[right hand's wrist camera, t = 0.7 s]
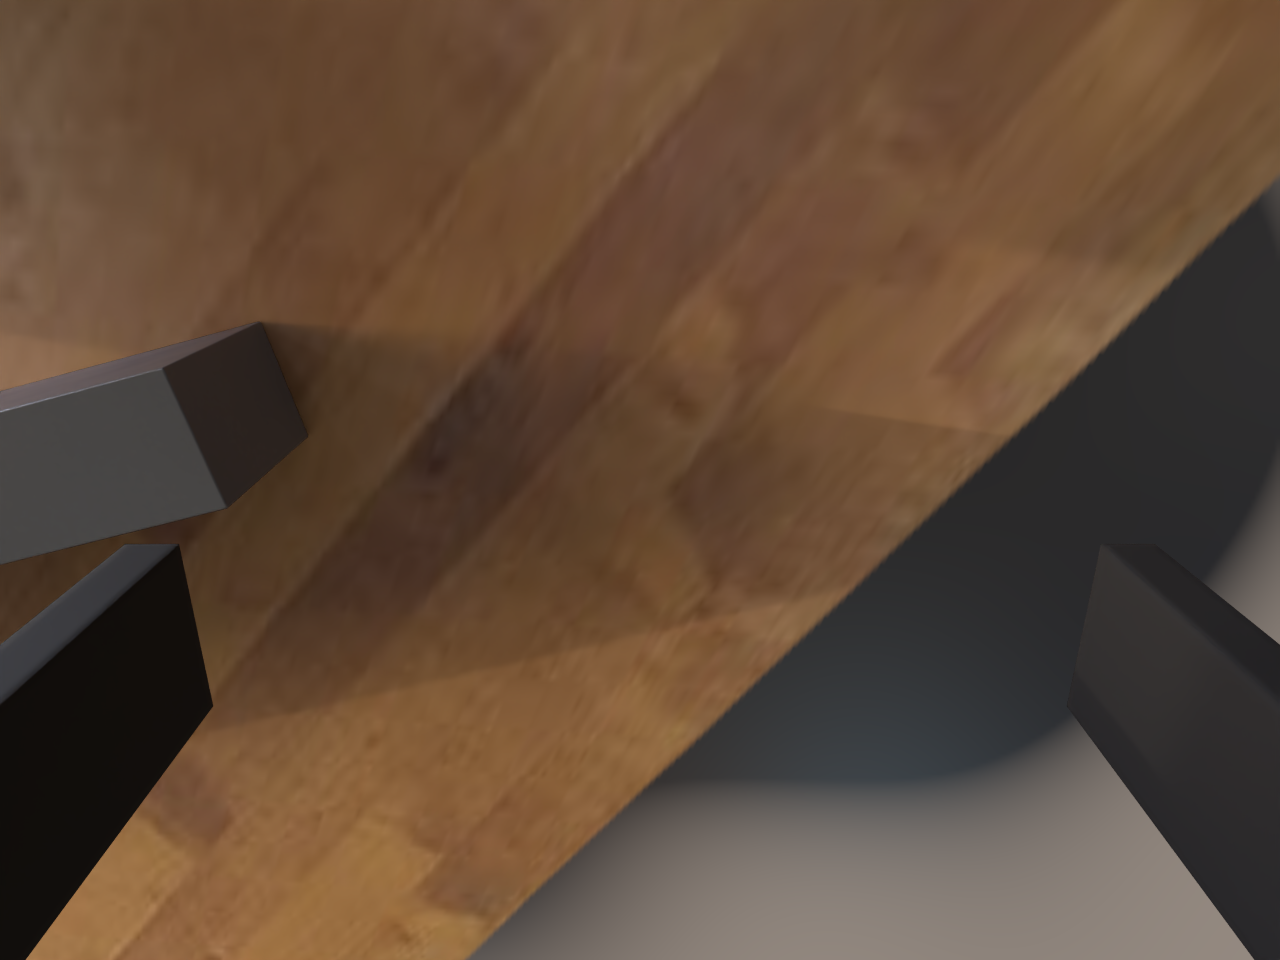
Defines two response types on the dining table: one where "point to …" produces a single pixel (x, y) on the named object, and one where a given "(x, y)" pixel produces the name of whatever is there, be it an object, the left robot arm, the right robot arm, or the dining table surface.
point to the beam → (141, 441)
